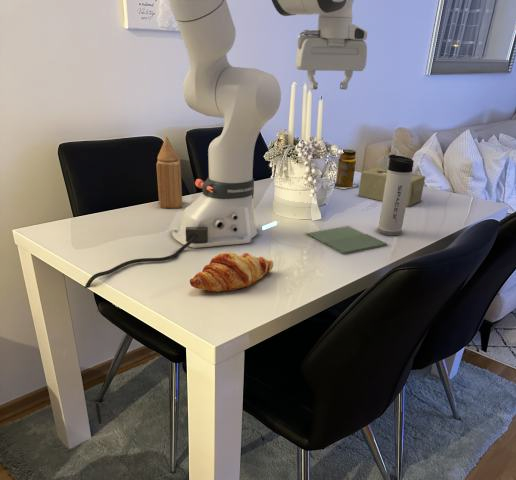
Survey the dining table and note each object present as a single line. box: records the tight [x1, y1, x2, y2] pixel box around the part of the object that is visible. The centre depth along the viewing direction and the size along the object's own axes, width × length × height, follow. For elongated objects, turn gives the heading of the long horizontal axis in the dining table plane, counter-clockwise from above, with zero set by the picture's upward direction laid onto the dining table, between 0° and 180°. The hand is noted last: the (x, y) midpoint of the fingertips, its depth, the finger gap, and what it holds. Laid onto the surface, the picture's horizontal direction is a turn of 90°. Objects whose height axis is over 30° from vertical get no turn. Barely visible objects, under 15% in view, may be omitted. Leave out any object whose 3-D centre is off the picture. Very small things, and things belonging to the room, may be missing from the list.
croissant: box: [189, 252, 274, 293], centre depth 106 cm, size 21×10×8 cm, turn 129°
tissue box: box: [358, 148, 426, 208], centre depth 165 cm, size 19×10×16 cm, turn 51°
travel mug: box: [377, 154, 414, 237], centre depth 134 cm, size 6×7×20 cm
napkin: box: [306, 226, 388, 255], centre depth 133 cm, size 14×16×1 cm
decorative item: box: [156, 136, 183, 209], centre depth 149 cm, size 7×7×20 cm
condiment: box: [333, 149, 358, 190], centre depth 179 cm, size 7×8×12 cm
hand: (328, 89), depth 141 cm, fingers open, 8 cm apart
